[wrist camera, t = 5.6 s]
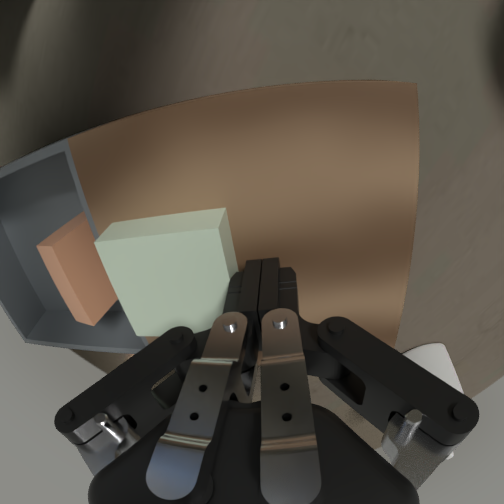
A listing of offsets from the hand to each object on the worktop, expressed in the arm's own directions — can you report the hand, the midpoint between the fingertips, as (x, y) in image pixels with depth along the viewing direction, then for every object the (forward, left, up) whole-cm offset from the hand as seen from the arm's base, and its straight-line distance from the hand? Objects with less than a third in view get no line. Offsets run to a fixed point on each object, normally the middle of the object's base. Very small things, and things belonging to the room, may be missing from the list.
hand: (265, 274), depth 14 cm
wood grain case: (0, -1, -7) cm, 7 cm away
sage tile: (0, -4, -1) cm, 5 cm away
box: (0, -17, -7) cm, 18 cm away
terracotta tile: (0, -11, -3) cm, 11 cm away
